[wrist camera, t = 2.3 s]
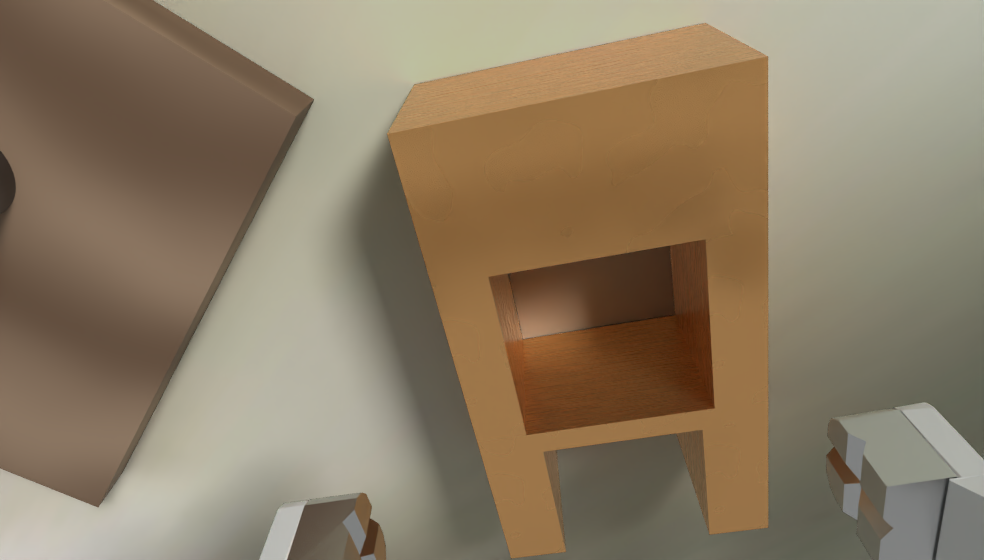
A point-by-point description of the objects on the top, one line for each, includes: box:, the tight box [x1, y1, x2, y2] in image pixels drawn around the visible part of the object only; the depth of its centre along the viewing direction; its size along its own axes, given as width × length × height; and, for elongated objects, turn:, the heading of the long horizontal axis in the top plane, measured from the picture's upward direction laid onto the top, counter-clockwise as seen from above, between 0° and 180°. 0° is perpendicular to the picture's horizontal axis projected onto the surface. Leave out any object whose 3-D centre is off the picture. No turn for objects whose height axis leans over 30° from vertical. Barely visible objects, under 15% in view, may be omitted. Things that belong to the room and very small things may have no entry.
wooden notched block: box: [387, 23, 768, 558], centre depth 16 cm, size 12×7×4 cm, turn 12°
